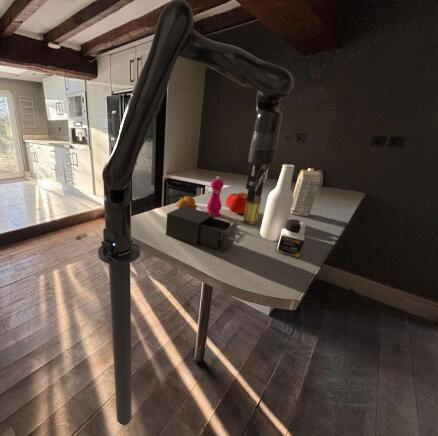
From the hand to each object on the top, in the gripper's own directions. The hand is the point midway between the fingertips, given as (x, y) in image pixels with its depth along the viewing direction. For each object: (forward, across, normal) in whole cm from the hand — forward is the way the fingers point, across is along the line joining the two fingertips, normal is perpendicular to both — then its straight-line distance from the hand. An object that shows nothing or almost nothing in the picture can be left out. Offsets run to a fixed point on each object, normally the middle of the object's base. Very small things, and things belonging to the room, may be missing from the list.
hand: (254, 198), depth 77 cm
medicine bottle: (+22, -13, +12) cm, 28 cm away
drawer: (+20, +1, -10) cm, 22 cm away
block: (+19, +1, -11) cm, 22 cm away
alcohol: (+22, -21, +4) cm, 30 cm away
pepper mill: (+21, -29, -25) cm, 44 cm away
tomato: (+22, -42, -16) cm, 50 cm away
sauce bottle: (+22, -31, -7) cm, 38 cm away
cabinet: (+21, +1, -23) cm, 31 cm away
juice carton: (+22, -62, +9) cm, 66 cm away
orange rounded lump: (+21, -22, -36) cm, 47 cm away
